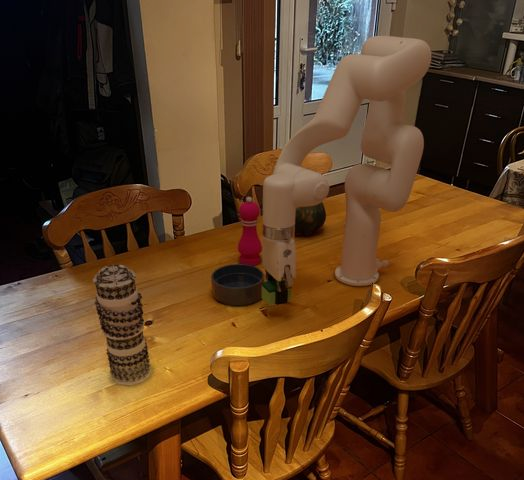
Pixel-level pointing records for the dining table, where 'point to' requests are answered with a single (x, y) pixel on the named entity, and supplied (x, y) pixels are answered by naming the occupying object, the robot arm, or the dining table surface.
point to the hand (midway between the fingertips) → (276, 298)
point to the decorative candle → (122, 324)
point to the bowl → (237, 284)
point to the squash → (309, 219)
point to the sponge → (272, 291)
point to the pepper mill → (249, 233)
